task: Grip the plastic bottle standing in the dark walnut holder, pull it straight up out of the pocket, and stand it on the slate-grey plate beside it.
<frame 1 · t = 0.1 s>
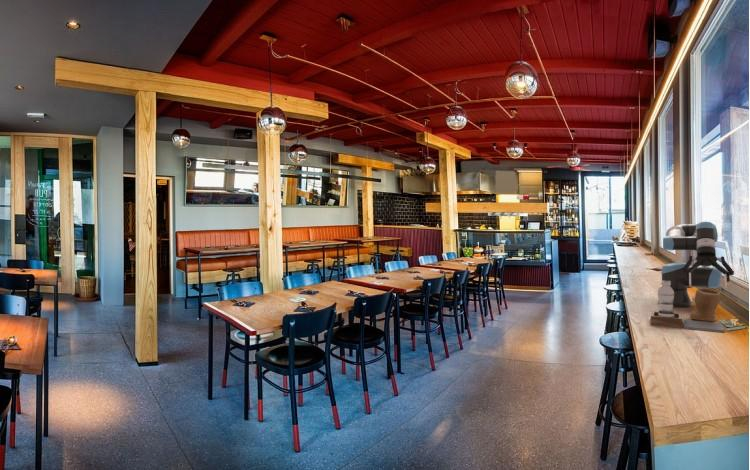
hand: (707, 286, 204), 15 cm above the bar counter, tool tilted 35°, fingers open, 13 cm apart
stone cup: (705, 320, 201), on the bar counter
slate plate: (702, 326, 189), on the bar counter
walnut holder: (666, 323, 197), on the bar counter
plastic bottle: (666, 323, 197), resting in walnut holder
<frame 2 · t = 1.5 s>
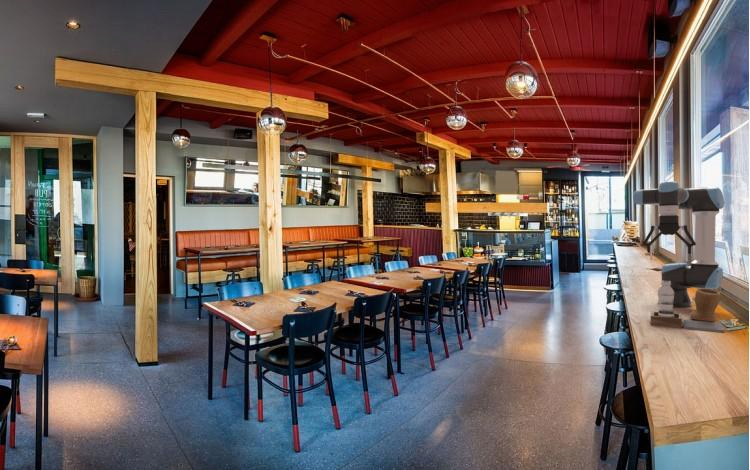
hand: (668, 260, 196), 30 cm above the bar counter, tool pointing down, fingers open, 13 cm apart
nothing on the bar counter moved.
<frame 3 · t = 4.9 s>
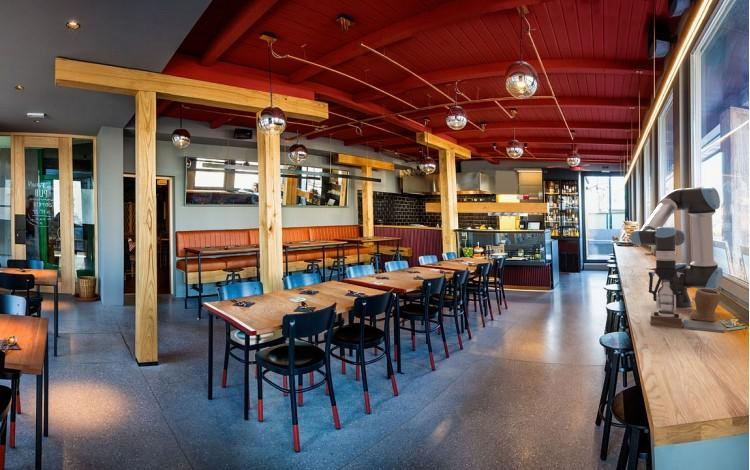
hand: (666, 308, 196), 7 cm above the bar counter, tool pointing down, fingers closed on plastic bottle, 6 cm apart
plastic bottle: (666, 323, 197), resting in walnut holder, touching gripper
everything else where it was.
when the fingers open (9 cm above the bar counter, at t = 11.1 s): plastic bottle moves 2 cm, resting on slate plate.
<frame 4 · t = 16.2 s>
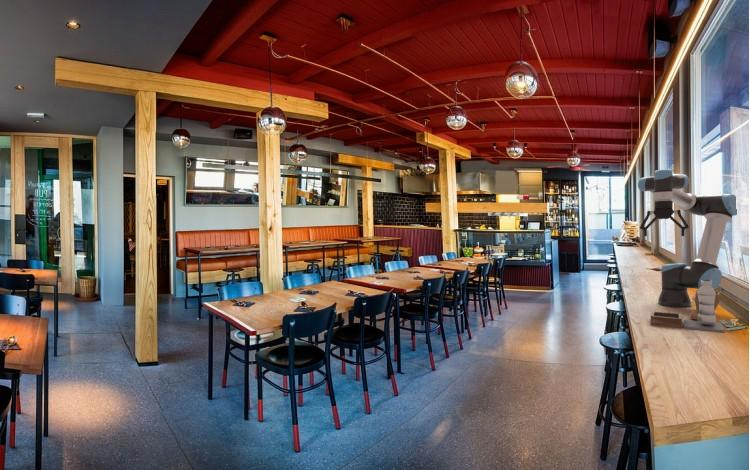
hand: (663, 242, 211), 37 cm above the bar counter, tool pointing down, fingers open, 13 cm apart
plastic bottle: (706, 325, 188), point 1 cm above the bar counter, touching slate plate
everything else where it was.
at the end: plastic bottle inside the target area on the slate plate (1.4 cm from its centre), point 0.8 cm above the slate plate's base; plastic bottle tilted 0°; the gripper is holding nothing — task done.
